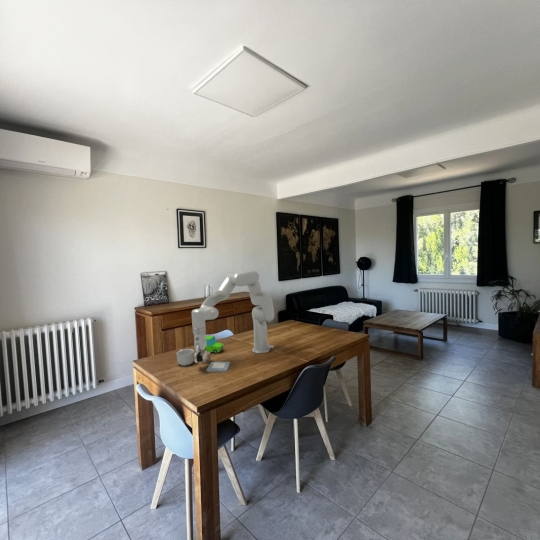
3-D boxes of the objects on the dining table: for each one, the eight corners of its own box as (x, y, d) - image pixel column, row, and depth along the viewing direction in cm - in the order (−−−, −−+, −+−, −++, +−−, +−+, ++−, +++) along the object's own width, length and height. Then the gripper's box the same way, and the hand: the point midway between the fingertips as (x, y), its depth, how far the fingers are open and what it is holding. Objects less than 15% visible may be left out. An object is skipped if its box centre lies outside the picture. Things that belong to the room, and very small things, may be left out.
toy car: (219, 354, 194) (218, 340, 193) (201, 353, 197) (200, 339, 196) (224, 349, 204) (224, 336, 203) (207, 348, 207) (207, 335, 206)
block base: (207, 358, 170) (207, 350, 170) (205, 362, 164) (204, 353, 164) (197, 358, 171) (197, 350, 170) (194, 362, 165) (194, 354, 164)
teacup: (196, 365, 175) (196, 352, 175) (178, 368, 170) (178, 355, 169) (191, 358, 187) (190, 346, 187) (174, 361, 182) (173, 349, 181)
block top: (210, 361, 182) (210, 351, 181) (209, 363, 177) (208, 354, 176) (203, 361, 182) (202, 352, 181) (201, 364, 177) (200, 354, 176)
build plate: (230, 363, 176) (230, 361, 176) (226, 371, 164) (226, 369, 164) (211, 364, 176) (211, 361, 176) (206, 371, 164) (206, 369, 164)
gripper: (201, 333, 158) (203, 365, 159) (208, 325, 175) (210, 354, 176) (188, 334, 158) (190, 365, 159) (197, 326, 175) (198, 354, 176)
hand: (201, 359), depth 168 cm, fingers closed on block base, 6 cm apart
